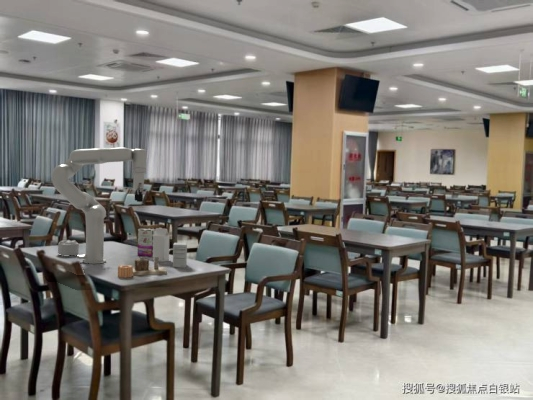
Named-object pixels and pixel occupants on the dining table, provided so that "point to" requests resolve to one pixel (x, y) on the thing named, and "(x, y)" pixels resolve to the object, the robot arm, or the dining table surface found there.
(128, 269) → the orange gear
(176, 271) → the dining table surface
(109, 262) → the dining table surface
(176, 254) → the supplement box
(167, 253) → the milk carton
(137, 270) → the gear board
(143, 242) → the candy bar box
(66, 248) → the lumpy-topped squat cylinder
